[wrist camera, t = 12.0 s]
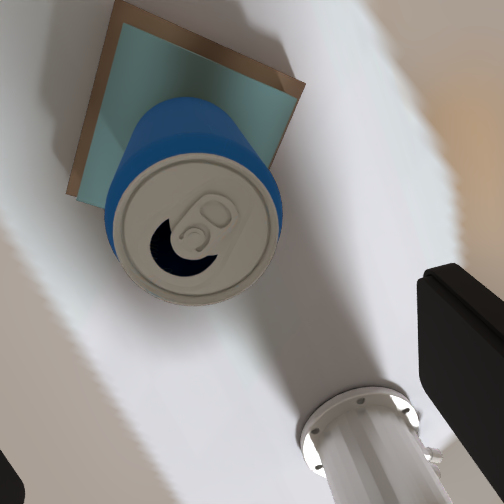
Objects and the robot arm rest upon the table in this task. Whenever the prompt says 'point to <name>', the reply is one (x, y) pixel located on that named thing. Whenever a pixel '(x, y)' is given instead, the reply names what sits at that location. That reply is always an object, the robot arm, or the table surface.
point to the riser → (171, 93)
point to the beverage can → (192, 206)
